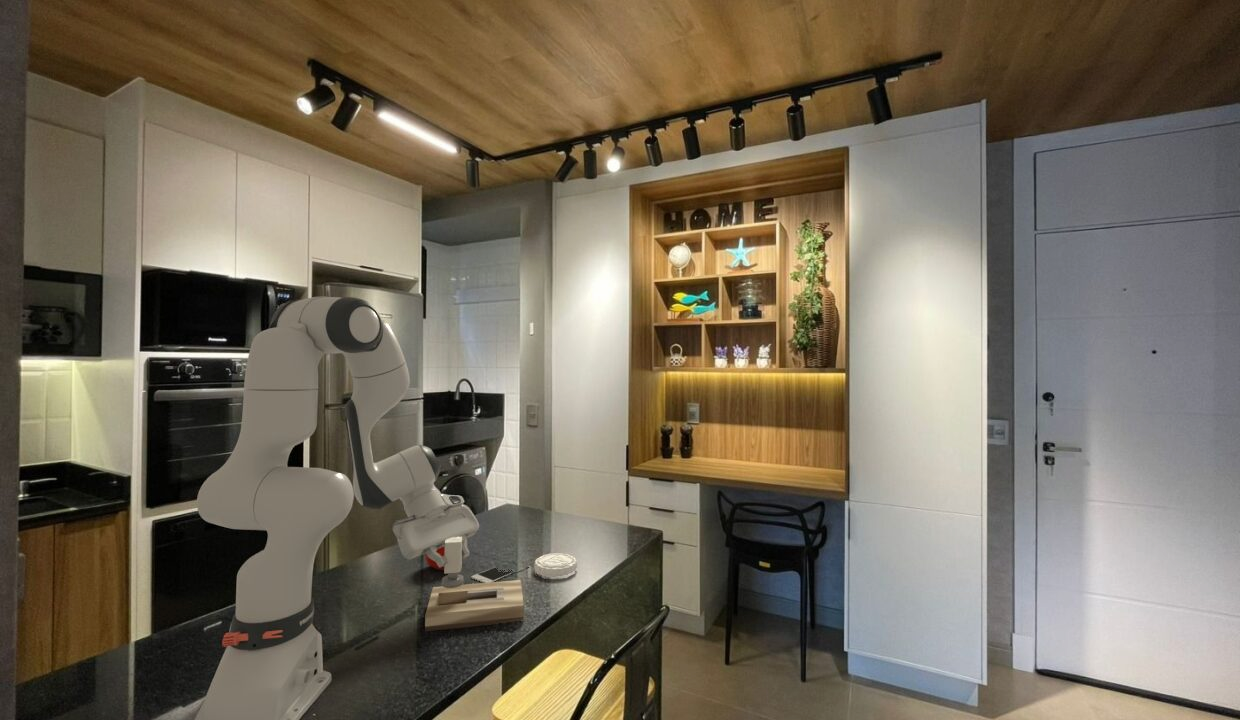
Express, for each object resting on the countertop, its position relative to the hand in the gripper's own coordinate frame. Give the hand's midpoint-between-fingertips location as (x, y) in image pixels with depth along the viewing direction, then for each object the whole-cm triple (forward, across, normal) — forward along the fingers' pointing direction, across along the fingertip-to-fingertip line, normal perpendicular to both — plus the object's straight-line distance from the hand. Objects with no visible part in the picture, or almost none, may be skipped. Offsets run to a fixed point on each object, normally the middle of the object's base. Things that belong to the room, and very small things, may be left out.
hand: (455, 560), depth 117 cm
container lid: (+12, +32, +6) cm, 35 cm away
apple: (-8, +17, +26) cm, 32 cm away
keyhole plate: (+11, +4, +6) cm, 13 cm away
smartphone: (+4, +23, +15) cm, 28 cm away
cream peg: (+3, 0, +4) cm, 5 cm away
